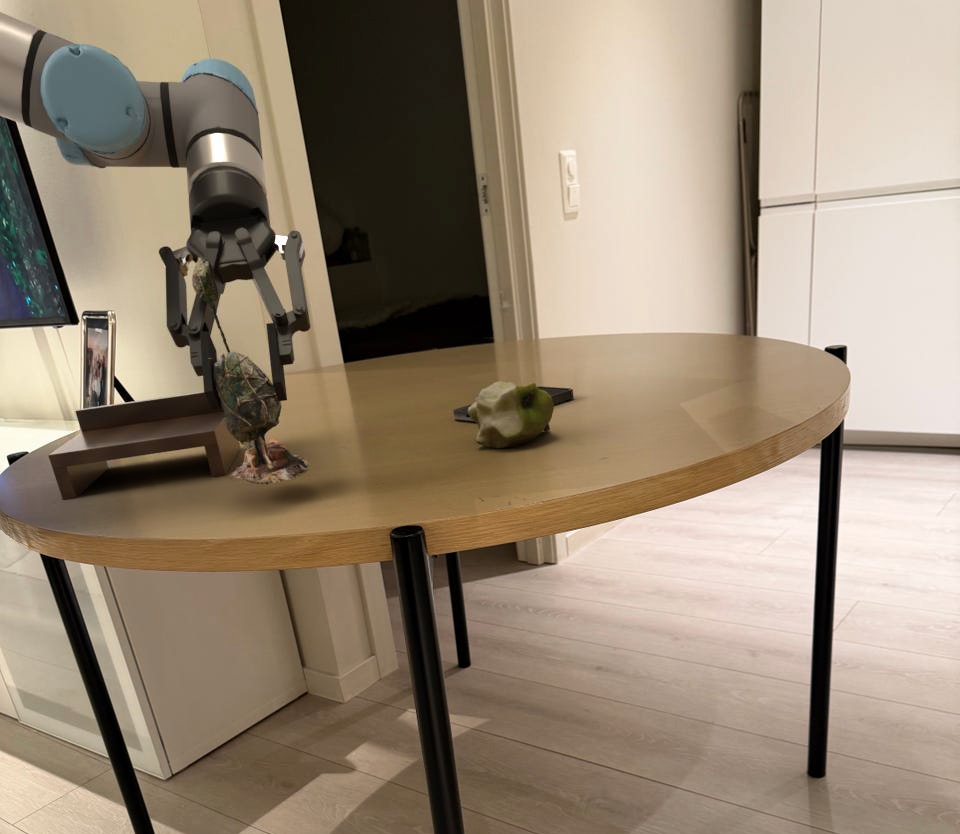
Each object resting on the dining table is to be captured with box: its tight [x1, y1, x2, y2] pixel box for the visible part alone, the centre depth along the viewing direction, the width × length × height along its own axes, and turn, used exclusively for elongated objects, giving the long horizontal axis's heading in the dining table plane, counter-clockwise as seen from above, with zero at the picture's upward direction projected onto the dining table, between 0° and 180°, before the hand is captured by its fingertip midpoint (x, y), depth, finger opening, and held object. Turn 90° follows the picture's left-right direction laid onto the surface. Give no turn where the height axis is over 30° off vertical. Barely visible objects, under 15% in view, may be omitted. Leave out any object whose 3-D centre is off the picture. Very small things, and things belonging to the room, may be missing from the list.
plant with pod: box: [191, 257, 310, 485], centre depth 82 cm, size 8×11×20 cm
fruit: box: [468, 380, 555, 449], centre depth 96 cm, size 9×9×8 cm
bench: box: [48, 390, 241, 500], centre depth 104 cm, size 18×14×8 cm
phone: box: [452, 386, 575, 423], centre depth 113 cm, size 8×1×15 cm
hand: (246, 395), depth 79 cm, fingers closed on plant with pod, 5 cm apart
